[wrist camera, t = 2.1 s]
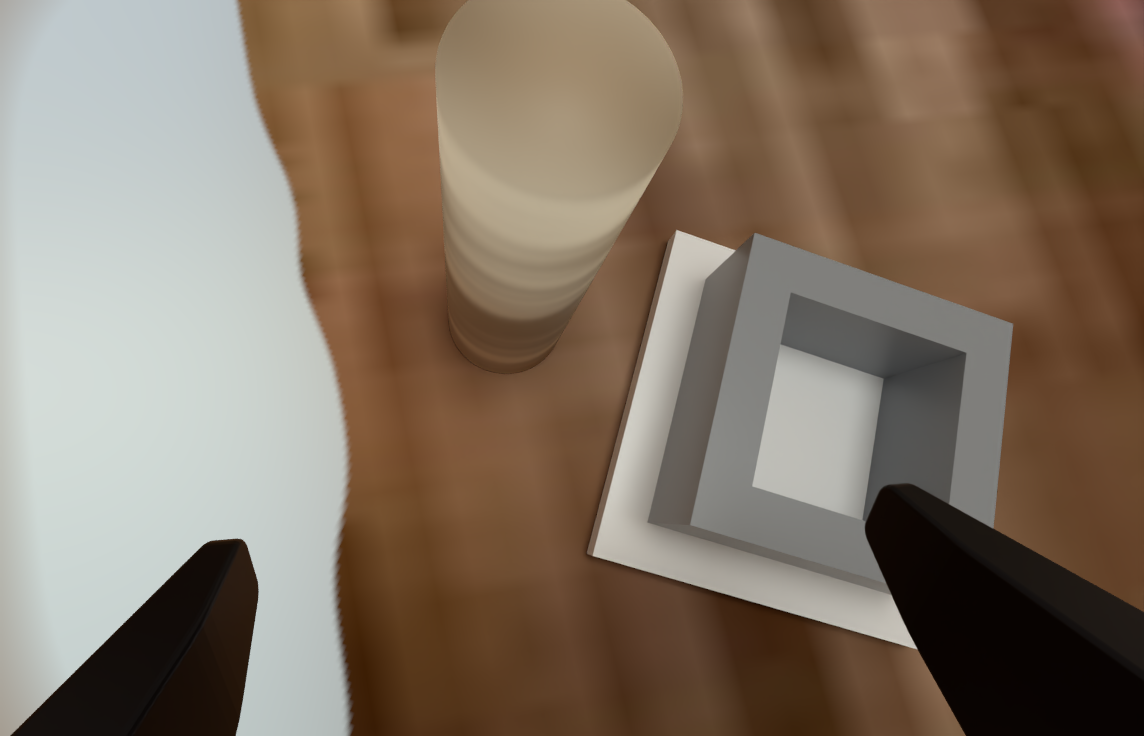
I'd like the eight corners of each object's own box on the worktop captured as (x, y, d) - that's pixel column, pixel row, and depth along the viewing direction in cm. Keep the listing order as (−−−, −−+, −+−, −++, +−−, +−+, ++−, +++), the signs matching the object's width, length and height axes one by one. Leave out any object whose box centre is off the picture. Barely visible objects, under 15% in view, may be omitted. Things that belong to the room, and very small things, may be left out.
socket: (905, 645, 22) (1027, 682, 18) (586, 553, 21) (623, 566, 16) (944, 336, 26) (1057, 296, 21) (668, 241, 24) (719, 175, 20)
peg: (543, 388, 22) (650, 230, 10) (432, 353, 22) (398, 143, 9) (573, 286, 23) (705, 27, 11) (469, 251, 23) (480, -60, 10)
